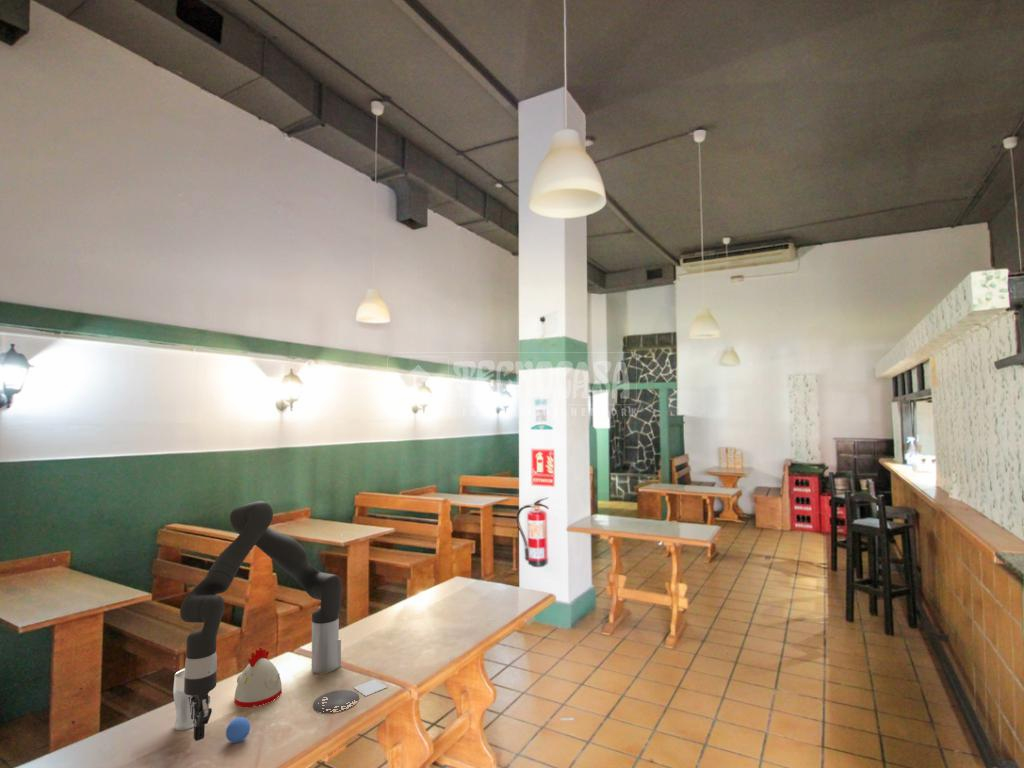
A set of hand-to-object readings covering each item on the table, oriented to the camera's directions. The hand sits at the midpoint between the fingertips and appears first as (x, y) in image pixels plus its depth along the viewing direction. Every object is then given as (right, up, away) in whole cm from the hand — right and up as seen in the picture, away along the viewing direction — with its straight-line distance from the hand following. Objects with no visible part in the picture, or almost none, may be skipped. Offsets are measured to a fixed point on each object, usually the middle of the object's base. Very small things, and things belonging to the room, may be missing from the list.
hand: (198, 738), depth 143 cm
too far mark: (+37, -6, +35) cm, 51 cm away
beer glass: (-13, -6, +15) cm, 21 cm away
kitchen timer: (+1, -7, +31) cm, 32 cm away
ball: (+7, -2, +7) cm, 10 cm away
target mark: (+28, -6, +27) cm, 39 cm away
